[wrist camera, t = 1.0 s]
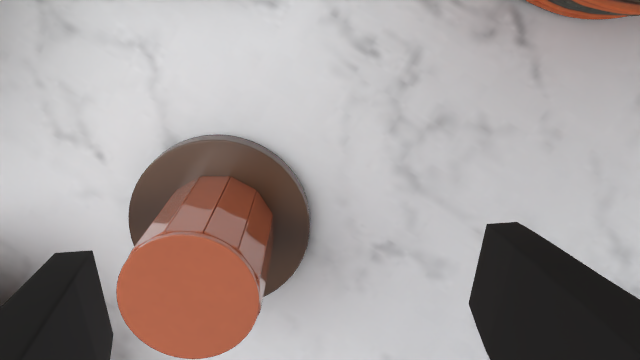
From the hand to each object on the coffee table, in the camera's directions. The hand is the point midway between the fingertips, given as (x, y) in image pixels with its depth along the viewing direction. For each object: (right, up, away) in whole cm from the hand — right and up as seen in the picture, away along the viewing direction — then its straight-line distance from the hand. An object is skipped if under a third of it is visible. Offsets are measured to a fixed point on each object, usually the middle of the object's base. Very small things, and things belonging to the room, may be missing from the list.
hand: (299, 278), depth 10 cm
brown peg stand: (-5, 0, +17) cm, 18 cm away
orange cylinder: (-5, -1, +17) cm, 17 cm away
